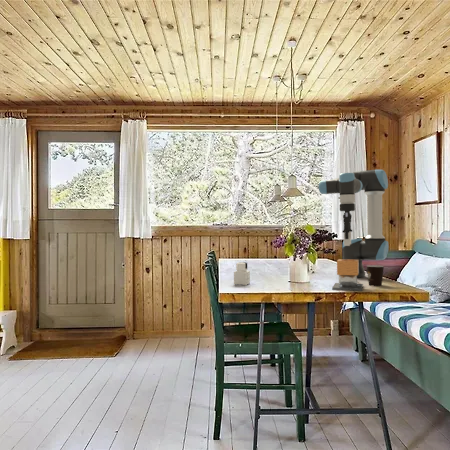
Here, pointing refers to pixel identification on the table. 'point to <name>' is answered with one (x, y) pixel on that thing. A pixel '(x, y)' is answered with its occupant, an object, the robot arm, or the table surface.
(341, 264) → the orange brown box
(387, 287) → the table surface
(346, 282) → the piston stand
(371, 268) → the coffee mug
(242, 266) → the medicine bottle
